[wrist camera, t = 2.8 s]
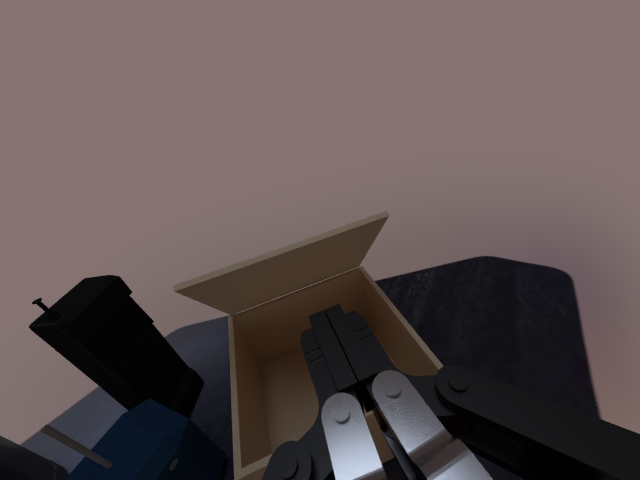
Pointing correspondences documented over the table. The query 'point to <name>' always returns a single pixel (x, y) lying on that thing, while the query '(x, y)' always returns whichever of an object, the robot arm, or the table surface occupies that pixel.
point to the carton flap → (285, 268)
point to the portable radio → (117, 345)
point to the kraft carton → (304, 365)
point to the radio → (147, 448)
